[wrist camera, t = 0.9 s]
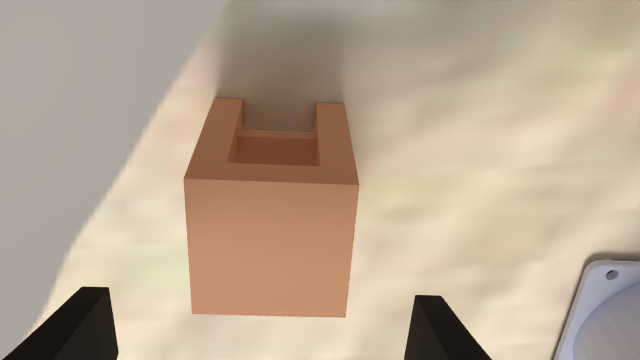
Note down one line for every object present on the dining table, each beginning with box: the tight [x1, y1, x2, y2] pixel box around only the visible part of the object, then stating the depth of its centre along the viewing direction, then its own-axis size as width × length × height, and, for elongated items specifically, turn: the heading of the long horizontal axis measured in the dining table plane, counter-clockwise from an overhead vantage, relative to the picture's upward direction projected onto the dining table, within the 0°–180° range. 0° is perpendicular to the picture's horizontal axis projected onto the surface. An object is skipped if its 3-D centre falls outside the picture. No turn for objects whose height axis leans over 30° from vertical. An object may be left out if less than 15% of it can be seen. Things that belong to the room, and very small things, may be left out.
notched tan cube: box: [184, 98, 359, 318], centre depth 19 cm, size 5×5×6 cm
